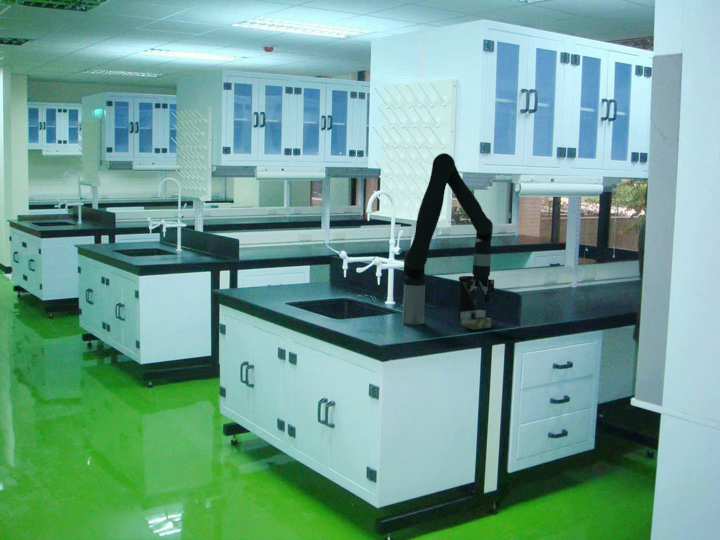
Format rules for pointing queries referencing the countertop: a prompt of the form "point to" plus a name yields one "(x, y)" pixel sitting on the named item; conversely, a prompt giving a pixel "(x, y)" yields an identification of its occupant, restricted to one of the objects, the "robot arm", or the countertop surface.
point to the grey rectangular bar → (469, 314)
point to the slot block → (476, 322)
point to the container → (465, 297)
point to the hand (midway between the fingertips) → (479, 301)
